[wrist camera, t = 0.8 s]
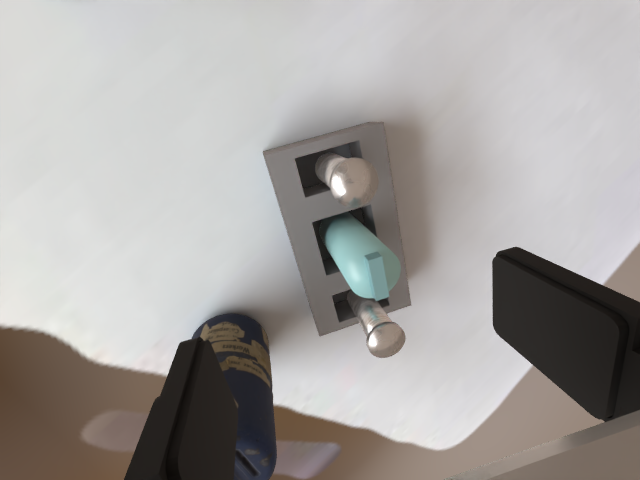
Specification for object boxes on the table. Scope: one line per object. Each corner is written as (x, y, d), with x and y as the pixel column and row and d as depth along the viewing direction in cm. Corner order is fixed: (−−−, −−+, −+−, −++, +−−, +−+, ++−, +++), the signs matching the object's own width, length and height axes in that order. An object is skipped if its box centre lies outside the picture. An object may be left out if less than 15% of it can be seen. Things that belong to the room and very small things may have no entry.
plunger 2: (341, 288, 37) (365, 333, 30) (370, 278, 38) (402, 320, 30) (347, 313, 39) (372, 362, 31) (376, 304, 39) (407, 350, 31)
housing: (262, 151, 33) (264, 155, 29) (369, 122, 34) (383, 122, 31) (313, 317, 42) (319, 336, 38) (397, 289, 43) (411, 305, 39)
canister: (259, 300, 39) (266, 431, 23) (274, 358, 43) (290, 508, 26) (180, 319, 38) (127, 472, 21) (203, 377, 42) (172, 547, 25)
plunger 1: (306, 154, 31) (326, 166, 23) (343, 144, 32) (374, 152, 24) (316, 190, 33) (337, 213, 25) (350, 180, 33) (382, 199, 25)
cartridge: (314, 216, 37) (345, 263, 25) (353, 205, 37) (401, 245, 25) (324, 252, 39) (357, 311, 27) (360, 241, 39) (409, 293, 27)
